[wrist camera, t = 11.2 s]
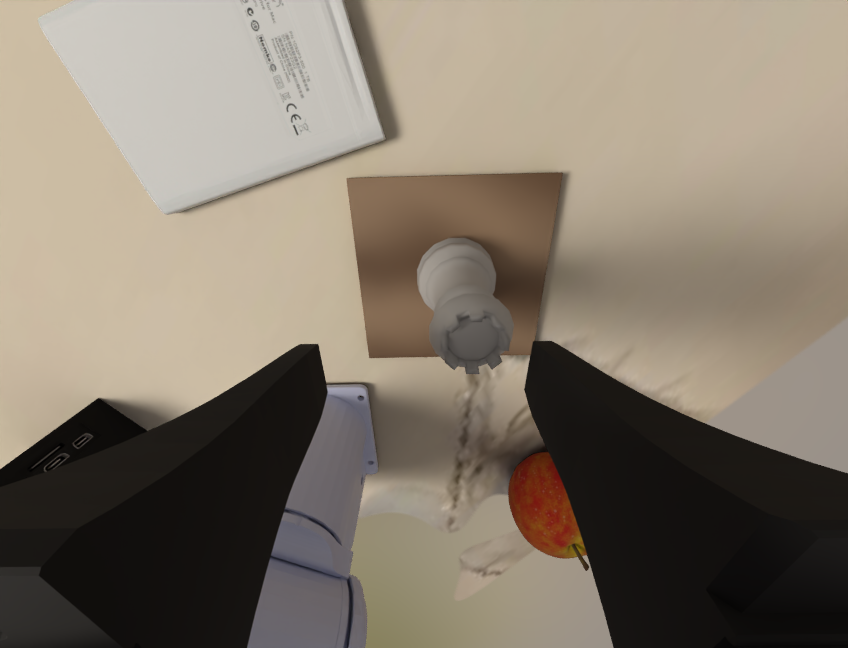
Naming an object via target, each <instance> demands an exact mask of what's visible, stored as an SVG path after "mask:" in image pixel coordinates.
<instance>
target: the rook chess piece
mask: <svg viewBox="0 0 848 648" xmlns="http://www.w3.org/2000/svg"><path fill="white" fill-rule="evenodd" d="M495 283H496V271H495V268H494V265H493V262H492V260H491V257H490V255H489V254H488V253H487V251H486V250H485V249H484V248H483V247H482V246H481V245H480V244H478V243H476V242H474V241H471V240H469V239H466V238H448V239H446V240H443V241H441V242H439V243H436V244H434V245H433V246H432V247H431V248H430V249H429V250H428V251H427V252H426V253H425V254H424V255H423V256H422V259H421V261H420V264H419V266H418V269H417V285H418V290H419V292H420V294H421V296H422V298H423V301H424V303H425V304H426V305H427V306H428V307H430V308H431V309H432V310H433V311H434V316H433V319H432V321H431V323H430V325H429V341H430V343H431V345H432V347H433V349H434V351H435V353H436V354H437V355H439V356H440V357H441V358H442V359H443V360H445V363H446V364H448V365H449V366H450V367H451V368H452V369H454V370H455V369H456V367H457V366H459V367H465V371H466V374H479V369H478V366H481V365H484V364H487V363H488V365H489V366H490V368H491V369H493V368H495V367H496V366H497V365H499V364H500V363H501V362H502V360H501V358H500V355H501V354H502V353H504V351H509V346H510V342H511V340H512V335H513V328H514V323H513V320H512V317H511V314H510V311H509V310H508V309H507V308H506V307H505V306H504V305H503V304H502V303H501V302H500V301H499V300H498V299H496V298H495V297H494V296H493V293H494V291H495Z"/></svg>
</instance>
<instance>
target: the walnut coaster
mask: <svg viewBox="0 0 848 648" xmlns="http://www.w3.org/2000/svg"><path fill="white" fill-rule="evenodd" d="M562 174H563V173H522V174H484V175H445V176H407V177H369V178H347V186H348V194H349V202H350V210H351V218H352V226H353V234H354V241H355V249H356V257H357V265H358V273H359V281H360V288H361V296H362V304H363V312H364V320H365V328H366V336H367V343H368V351H369V358H394V357H440V356H439V355H437V354H436V353H435V351H434V349H433V347H432V345H431V343H430V341H429V325H430V323H431V321H432V319H433V316H434V311H433V310H432V309H431V308H430V307H428V306H427V305H426V304H425V303H424V301H423V298H422V296H421V294H420V292H419V290H418V285H417V269H418V266H419V264H420V261H421V259H422V256H423V255H424V254H425V253H426V252H427V251H428V250H429V249H430V248H431V247H432V246H433V245H434V244H436V243H439V242H441V241H443V240H446V239H448V238H466V239H469V240H471V241H474V242H476V243H478V244H480V245H481V246H482V247H483V248H484V249H485V250H486V251H487V253H488V254H489V255H490V257H491V260H492V262H493V265H494V268H495V271H496V283H495V291H494V293H493V296H494V297H495V298H496V299H498V300H499V301H500V302H501V303H502V304H503V305H504V306H505V307H506V308H507V309H508V310H509V311H510V314H511V317H512V320H513V323H514V328H513V335H512V340H511V342H510V346H509V351H504V353H502V354H501V355H531V349H532V344H533V341H535V335H536V329H537V323H538V317H539V311H540V305H541V299H542V293H543V287H544V281H545V275H546V269H547V263H548V257H549V252H550V246H551V240H552V234H553V228H554V222H555V216H556V210H557V204H558V198H559V192H560V186H561V180H562Z"/></svg>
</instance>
